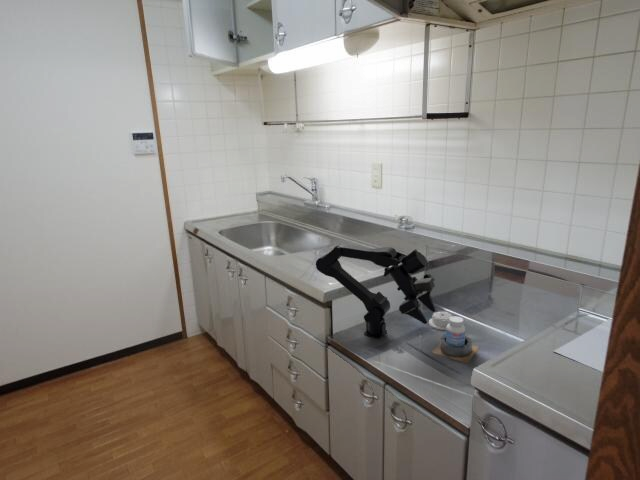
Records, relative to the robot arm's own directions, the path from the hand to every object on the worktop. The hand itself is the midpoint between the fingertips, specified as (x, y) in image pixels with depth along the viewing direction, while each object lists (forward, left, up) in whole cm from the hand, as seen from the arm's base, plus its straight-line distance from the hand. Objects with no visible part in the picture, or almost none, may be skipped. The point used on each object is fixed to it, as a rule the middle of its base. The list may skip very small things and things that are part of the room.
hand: (430, 317), depth 139 cm
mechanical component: (-2, +16, -11) cm, 19 cm away
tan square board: (+9, 0, -10) cm, 14 cm away
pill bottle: (+9, 0, -10) cm, 13 cm away
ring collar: (+9, 0, -10) cm, 13 cm away
